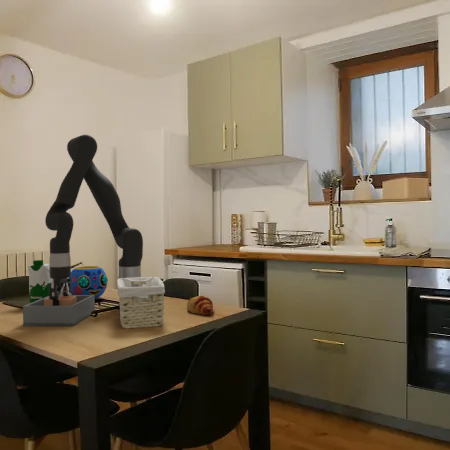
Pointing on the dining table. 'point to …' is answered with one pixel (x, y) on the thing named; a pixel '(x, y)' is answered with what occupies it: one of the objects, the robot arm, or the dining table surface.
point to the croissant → (200, 305)
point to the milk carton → (39, 280)
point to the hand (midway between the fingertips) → (61, 307)
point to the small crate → (62, 301)
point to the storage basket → (141, 302)
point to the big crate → (58, 312)
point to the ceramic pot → (88, 281)
